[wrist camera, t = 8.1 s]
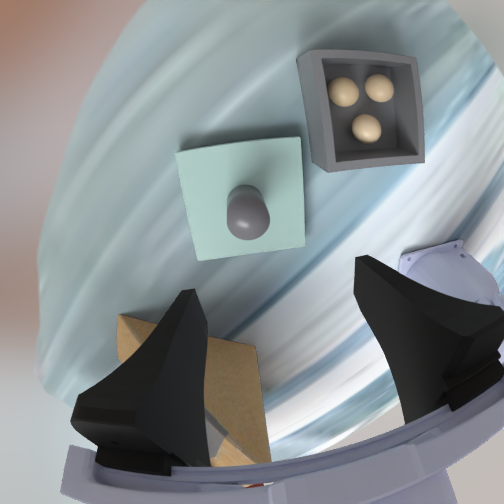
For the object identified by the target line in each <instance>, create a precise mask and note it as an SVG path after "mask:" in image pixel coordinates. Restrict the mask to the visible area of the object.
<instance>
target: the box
mask: <svg viewBox="0 0 504 504" xmlns="http://www.w3.org/2000/svg"><path fill="white" fill-rule="evenodd" d="M296 62H297V67H298V72H299V77H300V83H301V88H302V94H303V100H304V106H305V113H306V119H307V126H308V133H309V141H310V149H311V157H312V162H313V163H314V164H316V165H317V166H319V167H320V168H322V169H323V170H325V171H326V172H328V173H329V172H337V171H345V170H353V169H362V168H371V167H380V166H391V165H403V164H416V163H425V143H424V120H423V107H422V96H421V88H420V80H419V73H418V67H417V61H416V58H415V57H410V56H404V55H397V54H390V53H381V52H371V51H359V50H335V49H314V50H309V51H307V52H306V53H304V54H303V55H301V56H300V57H299V58H297V59H296Z"/></svg>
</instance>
